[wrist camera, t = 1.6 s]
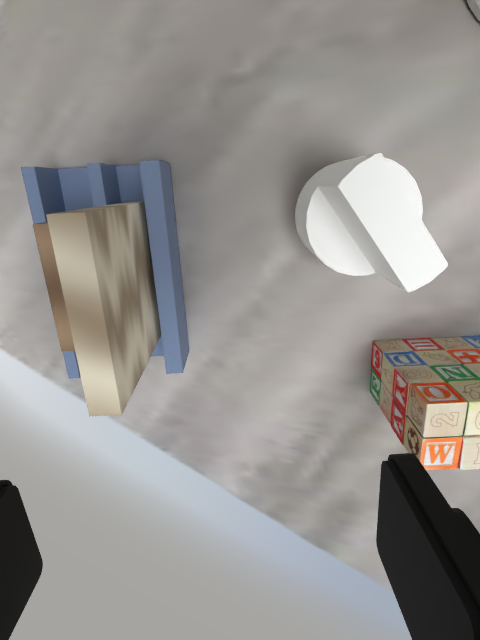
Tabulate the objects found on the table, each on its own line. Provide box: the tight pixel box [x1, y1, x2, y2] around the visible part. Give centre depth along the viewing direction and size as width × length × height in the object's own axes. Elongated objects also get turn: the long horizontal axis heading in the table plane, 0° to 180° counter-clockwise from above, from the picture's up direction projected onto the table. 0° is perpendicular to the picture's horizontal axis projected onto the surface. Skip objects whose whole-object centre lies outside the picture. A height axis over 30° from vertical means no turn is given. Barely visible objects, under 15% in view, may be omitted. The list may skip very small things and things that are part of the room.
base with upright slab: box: [295, 153, 448, 292], centre depth 29 cm, size 9×9×12 cm
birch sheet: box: [46, 201, 161, 416], centre depth 28 cm, size 12×2×15 cm, turn 3°
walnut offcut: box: [33, 222, 75, 351], centre depth 32 cm, size 10×3×7 cm, turn 3°
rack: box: [21, 160, 189, 378], centre depth 34 cm, size 18×10×5 cm, turn 3°
